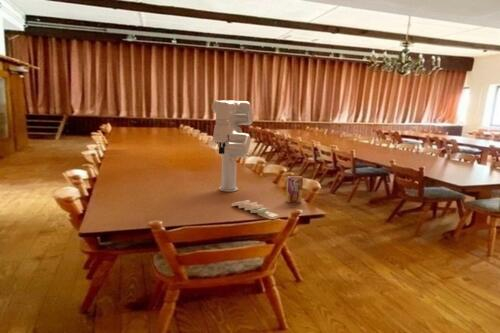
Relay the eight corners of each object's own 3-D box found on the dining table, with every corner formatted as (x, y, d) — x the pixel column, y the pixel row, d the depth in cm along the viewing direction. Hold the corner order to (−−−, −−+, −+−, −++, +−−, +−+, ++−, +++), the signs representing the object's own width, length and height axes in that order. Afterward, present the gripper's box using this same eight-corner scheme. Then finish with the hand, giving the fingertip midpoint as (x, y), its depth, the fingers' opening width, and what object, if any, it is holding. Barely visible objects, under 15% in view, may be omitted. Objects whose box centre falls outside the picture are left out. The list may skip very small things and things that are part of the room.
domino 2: (238, 205, 191) (250, 203, 184) (244, 203, 194) (256, 201, 187) (238, 208, 191) (250, 206, 184) (245, 206, 194) (257, 204, 187)
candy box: (299, 200, 211) (301, 176, 208) (301, 202, 207) (303, 177, 204) (285, 200, 210) (287, 175, 207) (287, 202, 206) (288, 177, 203)
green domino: (250, 209, 184) (261, 209, 176) (257, 207, 187) (269, 207, 179) (250, 212, 184) (261, 213, 176) (258, 211, 187) (269, 211, 179)
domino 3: (244, 207, 187) (256, 205, 180) (251, 205, 191) (263, 204, 183) (244, 210, 187) (257, 209, 180) (251, 208, 191) (263, 207, 183)
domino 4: (258, 212, 181) (272, 216, 174) (264, 210, 184) (278, 214, 178) (257, 215, 181) (272, 220, 174) (264, 213, 185) (278, 217, 178)
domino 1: (231, 203, 194) (243, 201, 187) (237, 201, 197) (249, 199, 191) (231, 206, 194) (244, 204, 187) (238, 204, 197) (250, 202, 191)
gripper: (208, 121, 204) (208, 152, 207) (227, 123, 194) (226, 155, 198) (218, 121, 209) (217, 151, 213) (236, 123, 200) (235, 154, 203)
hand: (221, 153), depth 205 cm, fingers closed
